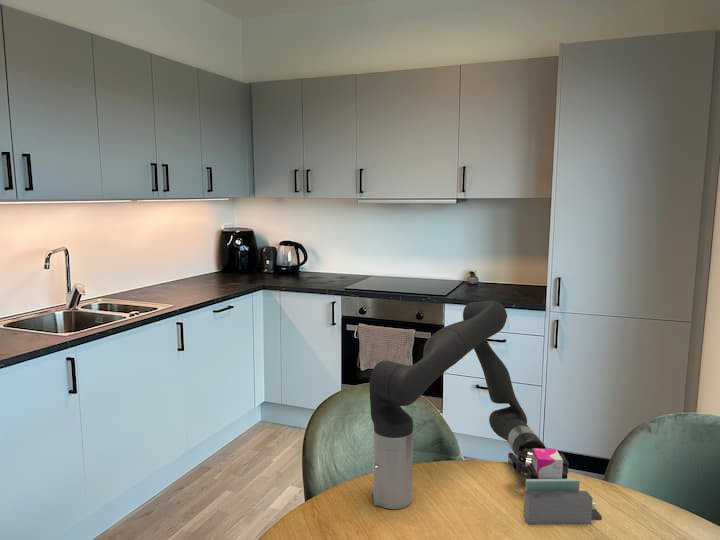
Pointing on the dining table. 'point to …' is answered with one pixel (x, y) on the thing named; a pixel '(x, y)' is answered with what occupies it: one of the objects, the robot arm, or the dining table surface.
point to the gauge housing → (559, 507)
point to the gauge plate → (553, 485)
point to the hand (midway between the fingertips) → (550, 478)
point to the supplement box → (547, 463)
